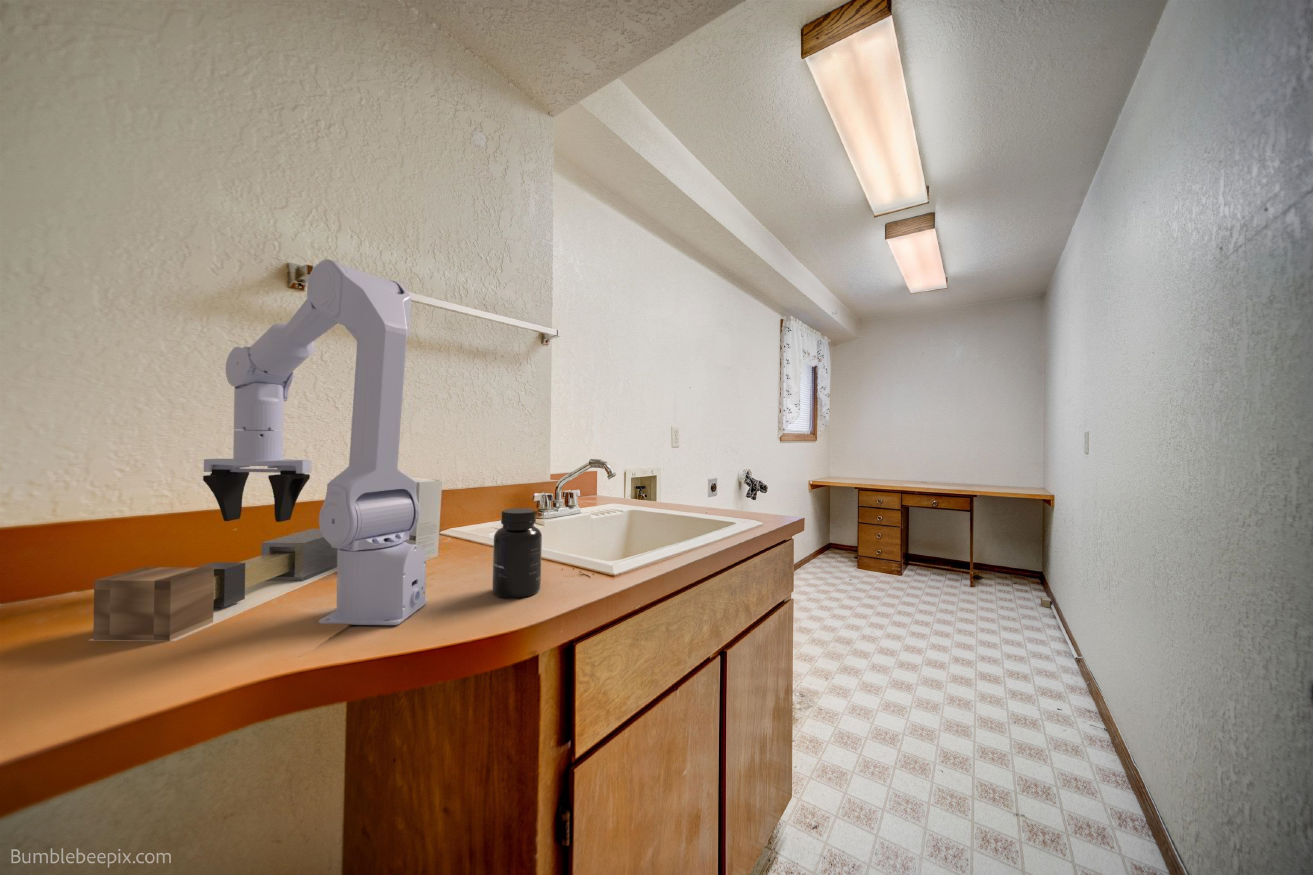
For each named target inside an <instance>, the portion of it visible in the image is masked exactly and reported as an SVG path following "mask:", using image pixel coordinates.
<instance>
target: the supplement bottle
mask: <svg viewBox="0 0 1313 875" xmlns="http://www.w3.org/2000/svg"><path fill="white" fill-rule="evenodd" d="M536 522H537V519H536V510H535V509H533V508H525V507H523V508H522V507H520V508H519V507H518V508H517V507H516V508H515V507H514V508H506V509H504V510H502V511H501V520H500V524H501V525H502V527H501V528H499V529H497V530H496V532H495V533H494V534H493V551H492V552H493V554H492V593H493V594H494V595H495V596H496V597H498V598H501V599H507V598H517V599H522V598H521V597H524V598H527V597H526V596H529V597H531V596H530V595H532V596H534V595H536V594H537V593H538V592H539V591H540V589H541V581H542V550H543V549H542V546H543V545H542V544H543V542H542V541H543V535H542V531H541V530H540V529H539V528H538V527H536V526H535V524H536ZM535 593H536V594H535ZM533 594H534V595H533Z"/></svg>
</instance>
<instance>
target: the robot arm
mask: <svg viewBox="0 0 1313 875" xmlns="http://www.w3.org/2000/svg"><path fill="white" fill-rule="evenodd" d="M306 297H307V298H306V300H305V301H303V303H302V304H301V306H300V307H299V308H298V310H296V312H295V313H294V315H293V316H292V317H291V318H290V319H289V321H288V322H277V323H274V324H272V326H270V327H268V329H267V330H266V331H265V332H264V333H263V334H262V335H261V336H260V337H259V338H258V339H257V340H256V341H255V342H254V343H253V344H252V345H250V346H243V347H241V346H235V347H233V348H232V349H231V351H230V352H229V354H228V356H227V358H226V361H225V377H226V380H227V382H228V383H229V385H230V386H232V387H234V393H233V394H234V396H233V399H234V400H233V447H232V448H233V454H232V456H233V458H205V459H203V472H205V473H210V474H209V475H208V474H207V475H203V476H202V481H203V482H204V483H205V484H206V485H207V487H208V488H209V490H210V491H211V492H212V494H213V496H214V498H215V499H216V502H217V505H218V506H219V510H220V513H221V516H222V520H223V522H231V521H236V520H240V518H241V516H242V511H243V510H242V509H243V495H244V489H245V487H246V486H245V485H246V483H247V480H248V478H249V475H250V473H271V474H270V475H269V474H268V476H267V477H268V481H269V484H270V486H271V490H272V493H273V502H274V508H273V510H274V520H275V522H276V523H281V522H286V521H290V520H291V518H292V514H293V512H294V508H295V506H296V502H297V501H298V498H299V496H300V494H301V491H302V490H303V488H304V487H305V486H306V484H307V483H308V481H309V480H310V477H311V476H310V474H309V473H312V468H313V465H312V464H313V460H312V459H294V458H293V459H290V458H289V459H288V458H283V457H284V410H285V408H284V407H285V402H288V398H289V390H290V387H291V385H292V382H293V379H294V371H295V370H296V369H297V368H298V367H299V366H301V365H302V364H303V363H304V362H305V361H306V360H308V358H310V357H311V356H312V355H313V354H314V351H315V344H314V341H316V340H317V339H318V338H320V337H321V336H323V335H324V334H325V333H327V332H328V331H330V330H331V329H332V328H334V327H335V326H338V324H340V325H342V326H343V327H344V328H345V330H347V331H348V332H349V333H350V334H351V336H352V337H353V338H354V339H355V341H356V356H355V370H354V384H353V385H354V386H353V397H352V398H353V399H352V401H353V402H352V413H351V431H350V432H351V433H350V442H349V443H350V447H349V461H348V466H347V467H346V468H345V469H344V470H342V471H341V472H339V474H337V475H336V476H334V477H333V478H332V479H331V480H330V481H329V482H328V483H327V484H326V486H327V487H326V494H325V498H324V501H323V504H322V505H321V508H320V510H319V514H318V524H319V529H320V530H321V533H322V535H323V537H324V538H325V540H326V541H327V542H328V543H329V544H331V547H333V548H337V571H336V607H335V609H336V610H335V611H333V612H331V613H329V614H327V615H326V616H324V617H322V618H321V619H318V624H328V625H329V624H331V625H332V624H341V625H342V624H344V625H345V624H346V625H347V624H349V625H351V626H356V625H357V626H397V625H400V624H401V623H402V622H404V621H405V620H406V619H408V618H409V617H411V616H412V615H413V614H414V613H416V612H418V610H420V609H421V608H422V607H424V606H425V605H426V604H428V602H429V600H428V598H426V578H427V577H426V574H427V569H426V566H427V562H426V561H427V560H426V557H425V552H424V550H423V548H422V547H421V546H419V545H413V544H408V543H406V542H404V541H405V540H409V533H410V532H412V531H413V530H414V528H415V527H416V525H417V523H418V520H419V514H420V508H419V504H418V501H417V496H416V484H417V483H416V482H415V481H414V480H413V479H412V478H413V477H412V478H411V476H409V475H408V474H407V473H405V472H404V471H403V470H402V469H400V468H399V467H398V466H399V453H400V452H399V451H400V437H401V426H402V424H401V422H402V412H403V411H402V410H403V395H404V382H405V368H406V356H407V355H406V353H407V339H408V338H409V337H410V335H409V334H410V324H411V323H410V321H411V319H410V318H411V307H412V295H411V294H410V293H409V292H408V291H407V289H406V288H405V287H404V286H403V285H402V284H401V283H400V282H399V281H395V280H391V279H390V280H389V279H386V278H384V277H380V276H377V275H374V274H372V273H368V272H365V271H362V270H359V269H356V268H354V267H350V266H348V265H345V264H344V265H343V264H341V263H338V262H337V261H335V260H332V259H327V258H326V259H325V258H324V259H323V260H321V261H319V262H318V263H317V264H316V265H315V266H314V267H313V268H312V270H311V271H310V274H309V275H308V279H307V287H306ZM250 467H267V468H250ZM272 473H273V474H272ZM274 473H275V474H274ZM276 473H277V474H276ZM384 490H385V491H384Z"/></svg>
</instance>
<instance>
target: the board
mask: <svg viewBox="0 0 1313 875" xmlns="http://www.w3.org/2000/svg"><path fill="white" fill-rule="evenodd" d="M335 572H336V573H337V567H336V568H334V569H331V570H329V571H326V572H324V573H322V574H319V575H317V576H314V577H312V578H310V579H307V580H305V581H263V582H260V583H257V584H255V585H252V586H249V587H247V588H245V599H244V600H241V601H239V602H236V603H234V604H231V605H229V606H226V607H213V622H212V623H210V624H208V625H205V626H203V627H201V628H198V629H196V630H194V631H191V632H189V633H187V634H184V635H182V636H180V637H177V638H175V639H173V640H170V641H169V642H177V641H178V640H181V639H182V638H185V637H188V636H190V635H193V634H195V633H197V632H199V631H201V630H205V629H206V628H208V627H211V626H213V625H216V624H217V623H220V622H222V621H225V620H227V619H230V618H231V617H234V616H236V615H238V614H241V613H244V612H245V611H249V610H250V609H252V608H255V607H258V606H260V605H262V604H264V603H267V602H268V601H271V600H274V599H275V598H278V597H280V596H282V595H284V594H287V593H289V592H292V591H294V590H296V589H299V588H301V587H304V586H305V585H308V584H311V583H313V582H315V581H317V580H320V579H322V578H324V577H326V576H330V575H331V574H333V573H335ZM88 641H89V642H90V641H91V642H92V641H94V642H95V641H96V642H98V641H99V642H101V641H102V642H105V641H106V642H108V641H109V642H110V641H112V642H114V641H115V642H122V641H123V642H124V641H125V642H144V641H143V640H93V638H91V639H88Z"/></svg>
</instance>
